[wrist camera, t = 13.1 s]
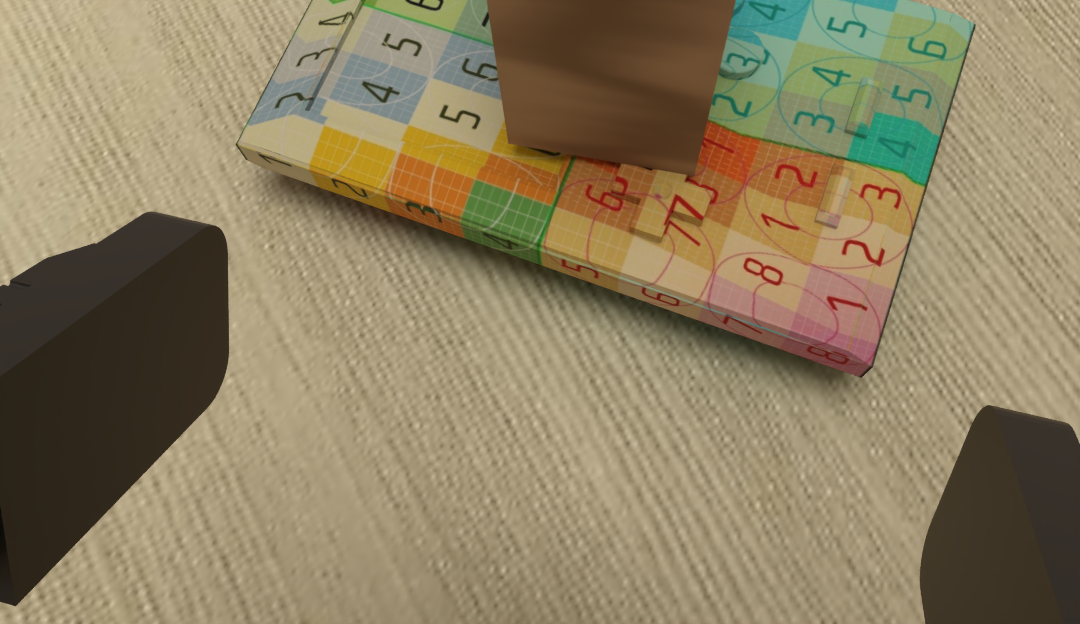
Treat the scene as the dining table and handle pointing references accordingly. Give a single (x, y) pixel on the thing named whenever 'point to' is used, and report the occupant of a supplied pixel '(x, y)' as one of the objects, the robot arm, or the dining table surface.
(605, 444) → the dining table surface
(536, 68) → the walnut block
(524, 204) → the puzzle game
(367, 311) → the dining table surface
